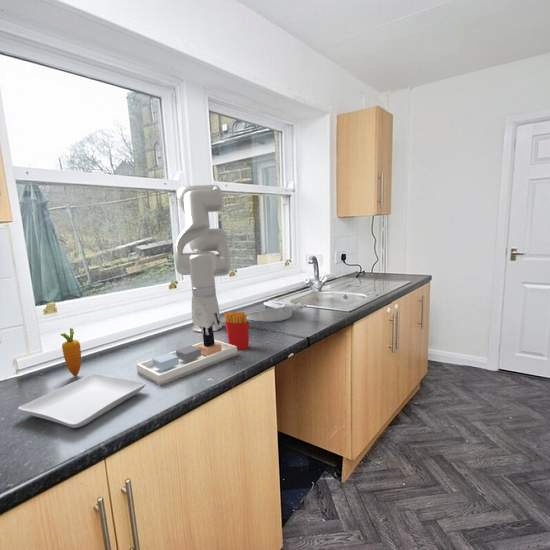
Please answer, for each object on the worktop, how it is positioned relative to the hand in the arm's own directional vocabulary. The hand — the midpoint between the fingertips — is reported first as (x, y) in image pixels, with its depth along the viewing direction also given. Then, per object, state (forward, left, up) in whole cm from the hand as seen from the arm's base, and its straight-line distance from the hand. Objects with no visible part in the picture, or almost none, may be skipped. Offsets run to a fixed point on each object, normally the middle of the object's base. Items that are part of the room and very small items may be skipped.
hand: (209, 345), depth 116 cm
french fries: (+1, +11, -4) cm, 12 cm away
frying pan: (-11, +47, -4) cm, 48 cm away
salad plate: (+1, -39, -4) cm, 39 cm away
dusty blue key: (0, -16, -2) cm, 16 cm away
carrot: (-22, -35, -4) cm, 41 cm away
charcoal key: (0, -8, -2) cm, 8 cm away
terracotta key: (0, 0, -2) cm, 2 cm away
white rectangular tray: (0, -8, -4) cm, 9 cm away
